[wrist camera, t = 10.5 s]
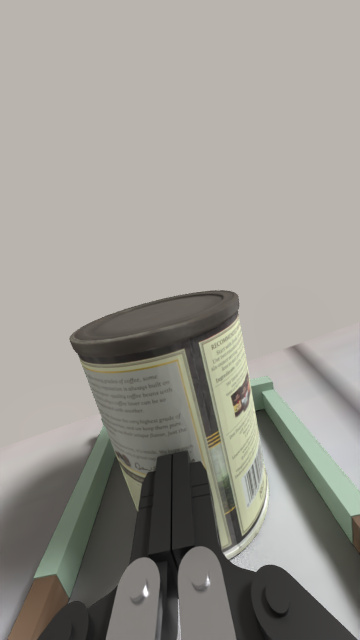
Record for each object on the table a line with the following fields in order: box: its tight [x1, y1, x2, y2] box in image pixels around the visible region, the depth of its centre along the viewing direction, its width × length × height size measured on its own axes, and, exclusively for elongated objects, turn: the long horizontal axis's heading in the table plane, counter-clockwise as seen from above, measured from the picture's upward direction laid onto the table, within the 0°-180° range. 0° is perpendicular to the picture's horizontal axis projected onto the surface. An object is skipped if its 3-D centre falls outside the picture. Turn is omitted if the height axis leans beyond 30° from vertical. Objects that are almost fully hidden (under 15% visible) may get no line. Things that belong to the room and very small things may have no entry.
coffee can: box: [70, 290, 269, 560], centre depth 15 cm, size 10×10×14 cm
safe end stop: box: [33, 376, 360, 599], centre depth 17 cm, size 13×18×3 cm
